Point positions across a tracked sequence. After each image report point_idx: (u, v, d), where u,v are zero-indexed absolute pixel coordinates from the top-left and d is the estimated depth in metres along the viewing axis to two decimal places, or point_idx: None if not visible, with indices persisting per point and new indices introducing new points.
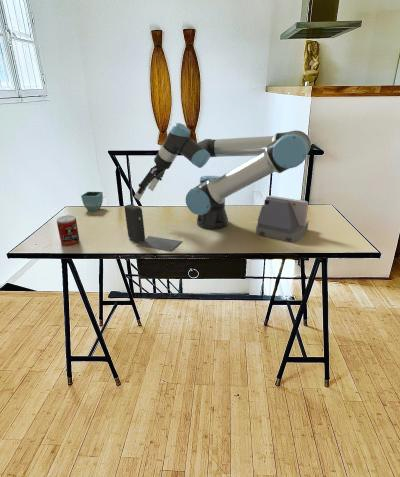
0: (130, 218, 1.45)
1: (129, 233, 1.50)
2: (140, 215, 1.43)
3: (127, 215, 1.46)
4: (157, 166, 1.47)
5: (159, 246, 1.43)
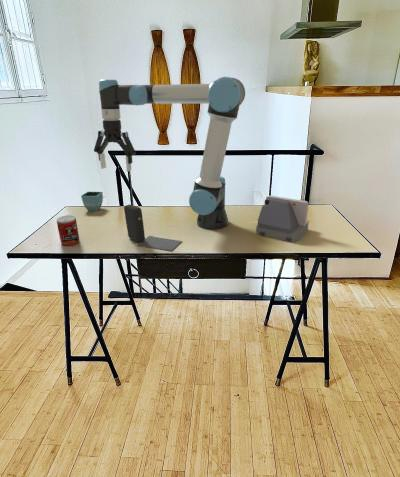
0: (130, 218, 1.45)
1: (129, 233, 1.50)
2: (140, 215, 1.43)
3: (127, 215, 1.46)
4: (119, 130, 1.47)
5: (159, 246, 1.43)
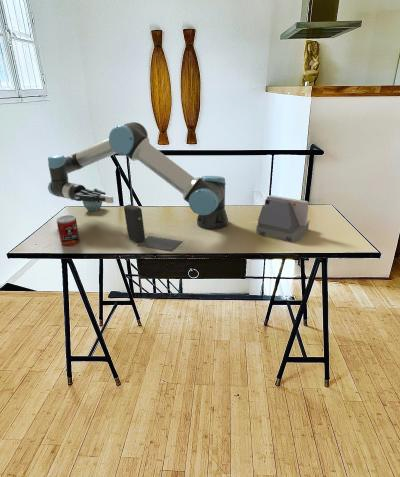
0: (130, 218, 1.45)
1: (129, 233, 1.50)
2: (140, 215, 1.43)
3: (127, 215, 1.46)
4: (74, 195, 1.56)
5: (159, 246, 1.43)
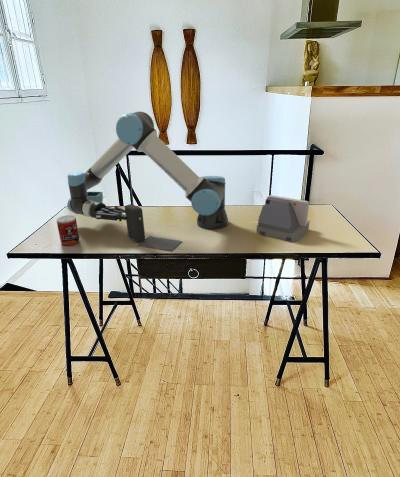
0: (131, 218, 1.45)
1: (129, 233, 1.50)
2: (140, 215, 1.43)
3: (127, 215, 1.46)
4: (95, 213, 1.53)
5: (159, 246, 1.43)
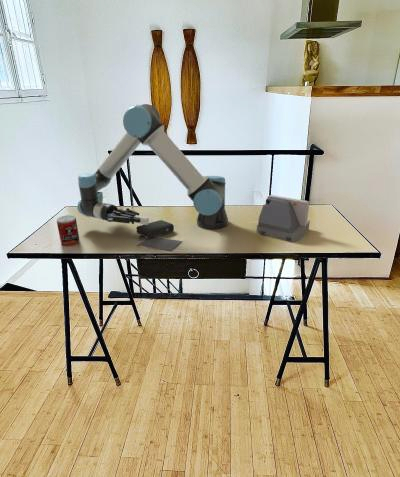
0: (160, 223, 1.57)
1: (143, 225, 1.53)
2: (168, 230, 1.56)
3: (158, 222, 1.59)
4: (106, 216, 1.49)
5: (159, 246, 1.43)
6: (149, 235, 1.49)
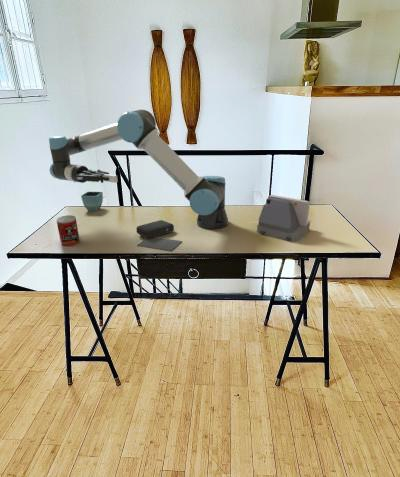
0: (161, 223, 1.57)
1: (143, 225, 1.53)
2: (168, 230, 1.56)
3: (158, 222, 1.59)
4: (77, 176, 1.50)
5: (159, 246, 1.43)
6: (149, 235, 1.49)
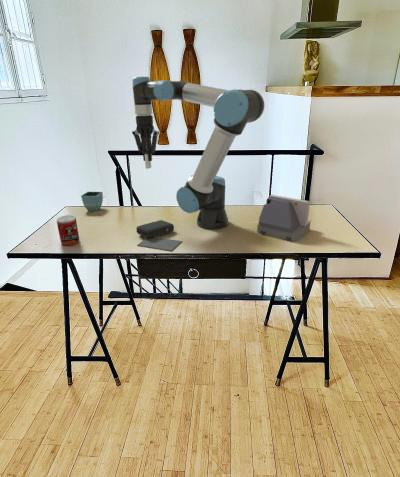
0: (161, 223, 1.57)
1: (143, 225, 1.53)
2: (168, 230, 1.56)
3: (158, 222, 1.59)
4: None
5: (159, 246, 1.43)
6: (149, 235, 1.49)
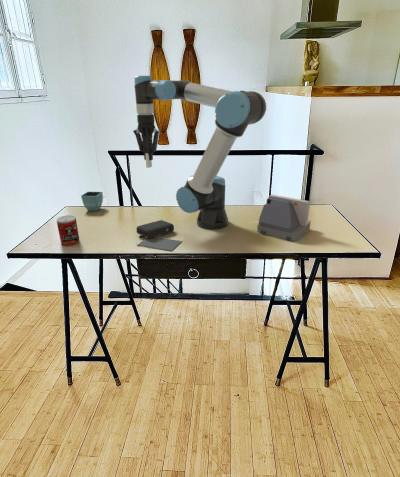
0: (161, 223, 1.57)
1: (143, 225, 1.53)
2: (168, 230, 1.56)
3: (158, 222, 1.59)
4: None
5: (159, 246, 1.43)
6: (149, 235, 1.49)
